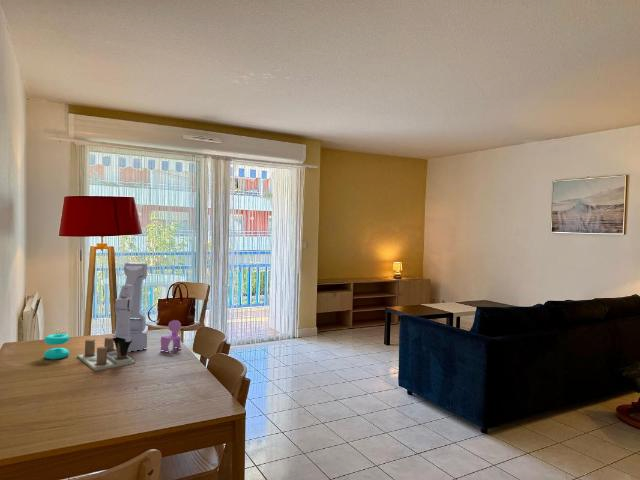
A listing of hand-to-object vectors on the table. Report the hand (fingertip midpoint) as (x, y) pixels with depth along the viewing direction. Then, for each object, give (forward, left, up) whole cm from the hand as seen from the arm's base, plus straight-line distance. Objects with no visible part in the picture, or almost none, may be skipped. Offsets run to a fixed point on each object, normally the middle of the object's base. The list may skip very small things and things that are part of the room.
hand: (121, 354), depth 196 cm
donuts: (+20, -26, -4) cm, 33 cm away
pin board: (+4, -8, -4) cm, 10 cm away
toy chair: (-26, -6, -4) cm, 28 cm away
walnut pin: (0, 0, -2) cm, 2 cm away
